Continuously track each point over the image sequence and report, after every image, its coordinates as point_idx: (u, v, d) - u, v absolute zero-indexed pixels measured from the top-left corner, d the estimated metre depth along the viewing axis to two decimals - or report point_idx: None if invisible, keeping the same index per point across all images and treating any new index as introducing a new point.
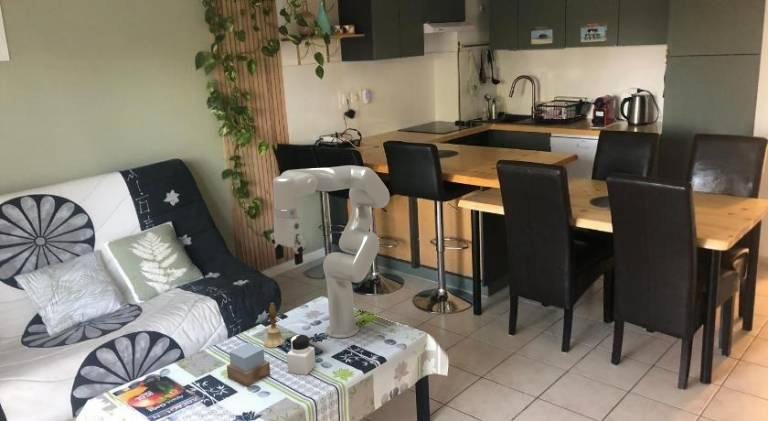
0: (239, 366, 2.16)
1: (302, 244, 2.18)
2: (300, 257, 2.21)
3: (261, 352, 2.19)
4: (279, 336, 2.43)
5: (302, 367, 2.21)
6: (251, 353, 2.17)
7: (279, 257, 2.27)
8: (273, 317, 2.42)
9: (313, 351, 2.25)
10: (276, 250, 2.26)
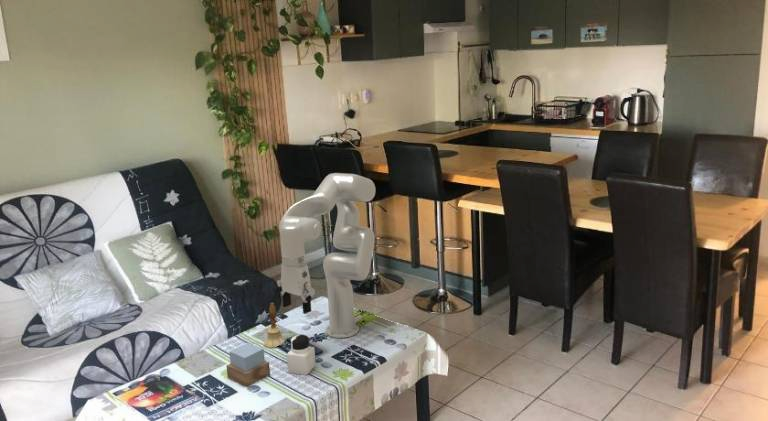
0: (239, 365, 2.17)
1: (311, 293, 2.12)
2: (308, 306, 2.15)
3: (261, 352, 2.19)
4: (279, 336, 2.43)
5: (302, 367, 2.21)
6: (251, 353, 2.17)
7: (286, 304, 2.21)
8: (273, 317, 2.42)
9: (313, 351, 2.25)
10: (283, 298, 2.20)
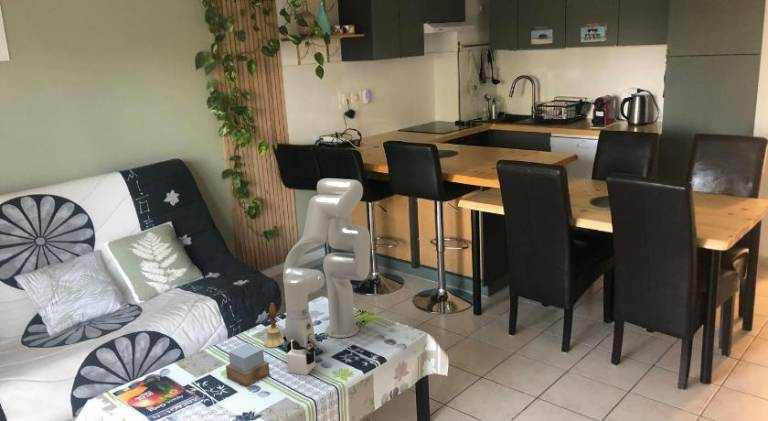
0: (238, 366, 2.16)
1: (314, 345, 2.17)
2: (312, 357, 2.20)
3: (260, 352, 2.19)
4: (279, 336, 2.43)
5: (301, 368, 2.20)
6: (250, 353, 2.17)
7: None
8: (273, 317, 2.42)
9: None
10: (288, 348, 2.25)
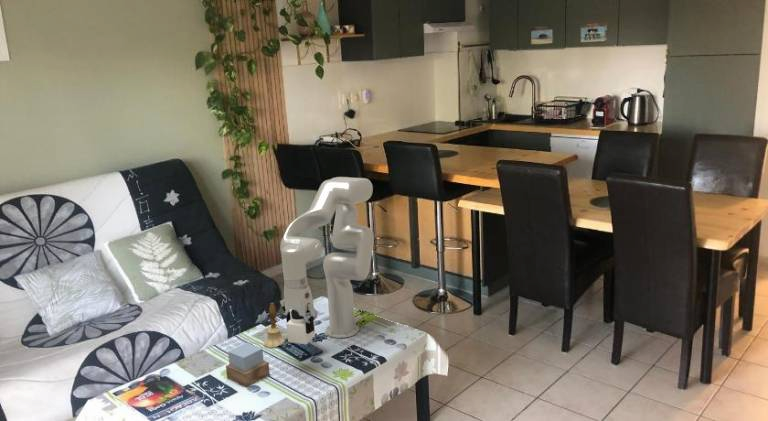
0: (238, 365, 2.17)
1: (313, 314, 2.15)
2: (311, 326, 2.18)
3: (260, 352, 2.19)
4: (279, 336, 2.43)
5: (301, 337, 2.19)
6: (250, 353, 2.17)
7: None
8: (273, 317, 2.42)
9: None
10: (287, 317, 2.23)
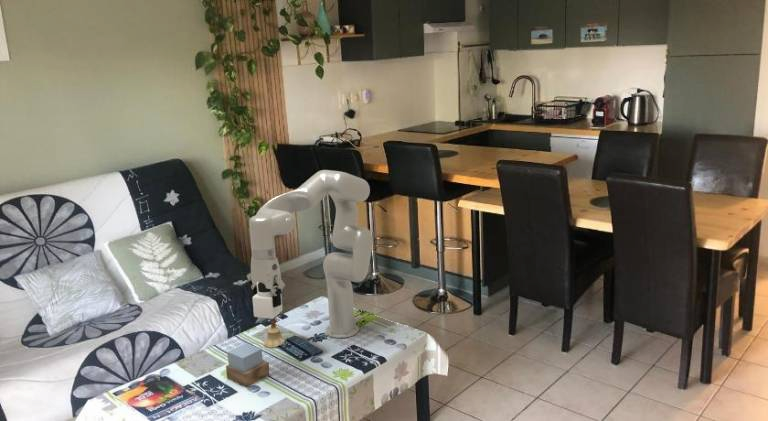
0: (237, 366, 2.16)
1: (280, 286, 2.09)
2: (278, 299, 2.12)
3: (259, 352, 2.19)
4: (279, 336, 2.43)
5: (268, 311, 2.13)
6: (249, 353, 2.17)
7: None
8: None
9: None
10: (254, 292, 2.17)
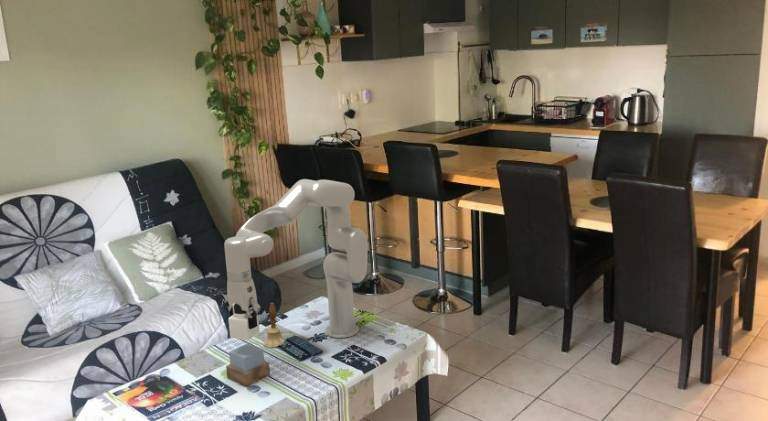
0: (239, 366, 2.16)
1: (255, 309, 2.09)
2: (254, 321, 2.12)
3: (261, 352, 2.19)
4: (279, 336, 2.43)
5: (243, 332, 2.13)
6: (251, 353, 2.17)
7: None
8: (273, 317, 2.42)
9: None
10: (230, 313, 2.17)
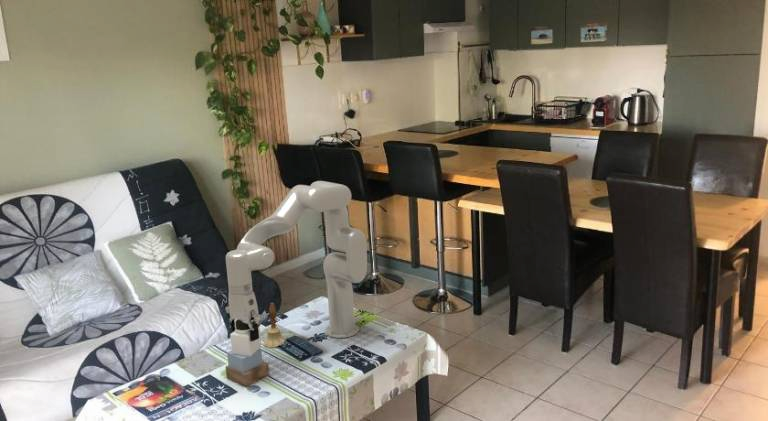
0: (237, 366, 2.16)
1: (257, 321, 2.10)
2: (256, 333, 2.13)
3: (259, 353, 2.19)
4: (279, 336, 2.43)
5: (245, 348, 2.14)
6: None
7: None
8: (273, 317, 2.42)
9: None
10: (232, 324, 2.19)
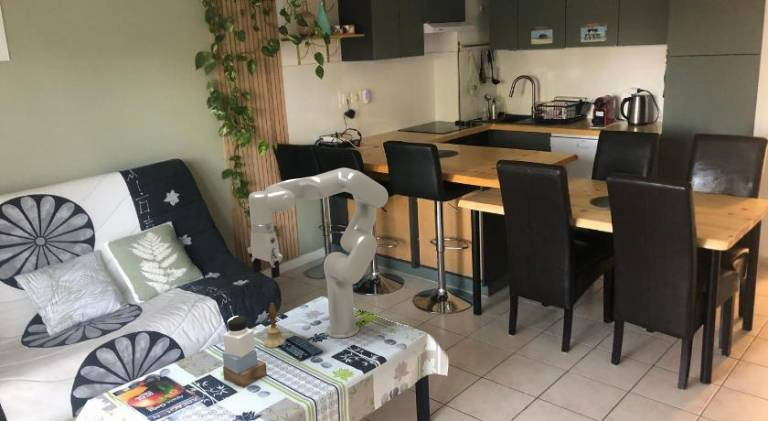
0: (231, 367, 2.16)
1: (278, 258, 2.22)
2: (277, 271, 2.25)
3: (254, 354, 2.18)
4: (279, 336, 2.43)
5: (236, 350, 2.14)
6: None
7: (256, 270, 2.32)
8: (273, 317, 2.42)
9: (251, 334, 2.17)
10: (253, 264, 2.30)
